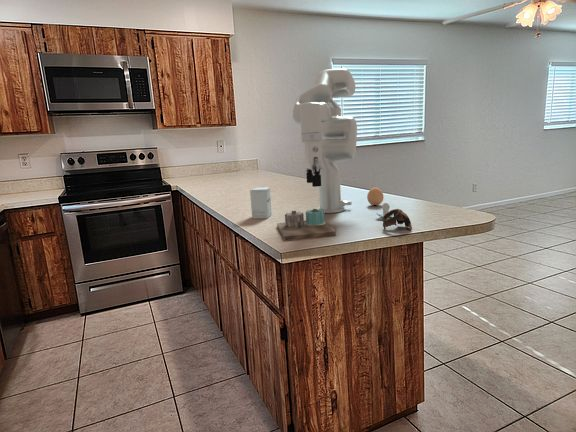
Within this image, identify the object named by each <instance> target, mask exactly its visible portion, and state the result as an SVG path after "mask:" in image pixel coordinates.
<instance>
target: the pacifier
mask: <svg viewBox="0 0 576 432" xmlns="http://www.w3.org/2000/svg"><path fill="white" fill-rule="evenodd" d="M381 208H382V209H381V210H382V214H381V213H378V212H376V215H377V216H378V221H379V220H381V221H382V218H383V216H384V215H385V214H386V213H388V212H389V211H390V204H389V203H387V202H384V203H383V204H382V205H381ZM392 217H394V214H393V215H391V216H390V217H388V218H387V219H390V218H392ZM387 219H386V220H387Z"/></svg>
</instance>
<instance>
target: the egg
mask: <svg viewBox="0 0 576 432" xmlns="http://www.w3.org/2000/svg"><path fill="white" fill-rule="evenodd" d="M366 198H367V202H368V203H369V204H370V205H371V206H374V205H377V206H379V205H381V204H382V203H383V201H384V193H383V192H382V190H381V189H380V188H379V187H376V186H375V187H371V189H369V191H368V193H367V197H366Z"/></svg>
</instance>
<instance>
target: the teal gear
mask: <svg viewBox="0 0 576 432" xmlns="http://www.w3.org/2000/svg"><path fill="white" fill-rule="evenodd" d="M305 221H306V224H309V225H319V224H324V222H326V220H325V213H324V210H320V209H318V210H317V212H313V209H310V210H308V209H307V210H306V211H305Z"/></svg>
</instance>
